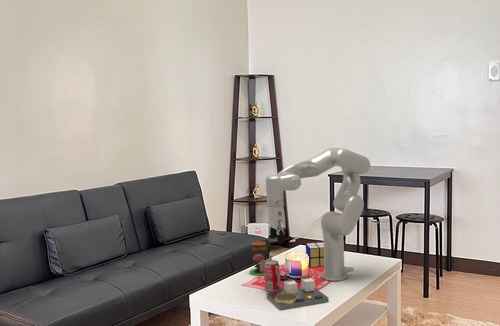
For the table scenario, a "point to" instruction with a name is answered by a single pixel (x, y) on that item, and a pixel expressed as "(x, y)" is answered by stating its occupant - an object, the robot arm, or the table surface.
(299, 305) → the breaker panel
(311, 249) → the puzzle cube
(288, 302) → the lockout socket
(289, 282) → the block
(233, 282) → the table surface
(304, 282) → the block
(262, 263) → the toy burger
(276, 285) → the soda can
